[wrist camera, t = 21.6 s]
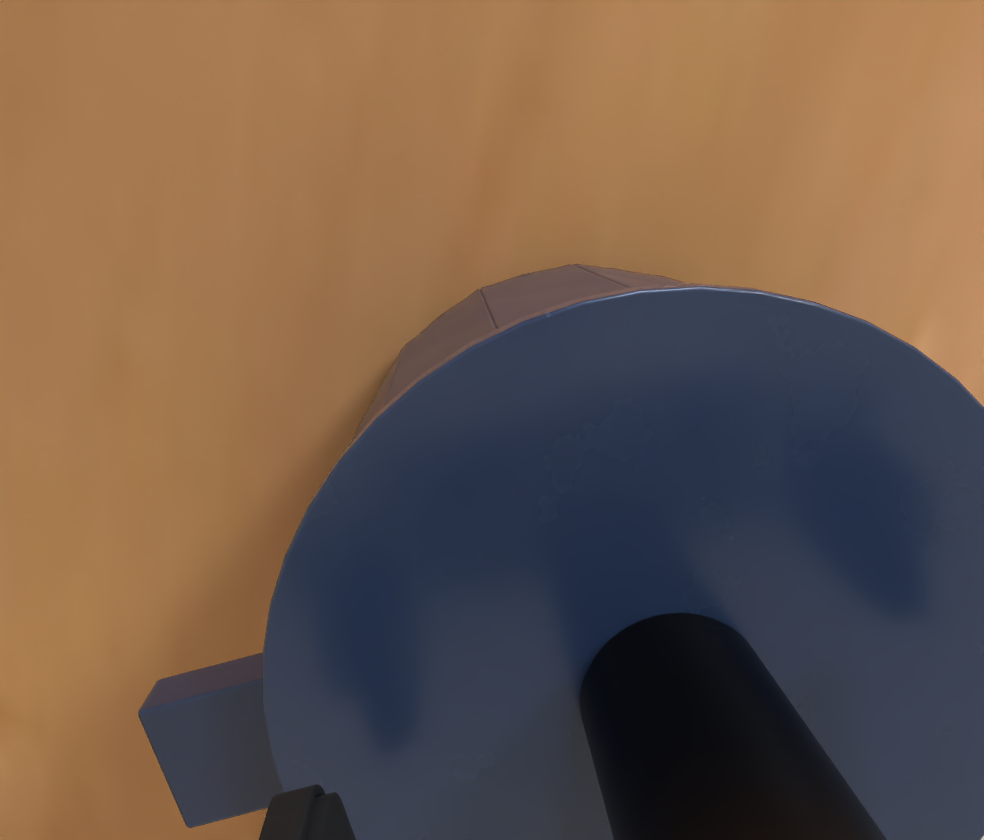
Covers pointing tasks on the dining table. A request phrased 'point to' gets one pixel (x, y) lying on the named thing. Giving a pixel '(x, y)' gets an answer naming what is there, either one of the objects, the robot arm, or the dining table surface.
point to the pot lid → (647, 586)
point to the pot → (238, 683)
